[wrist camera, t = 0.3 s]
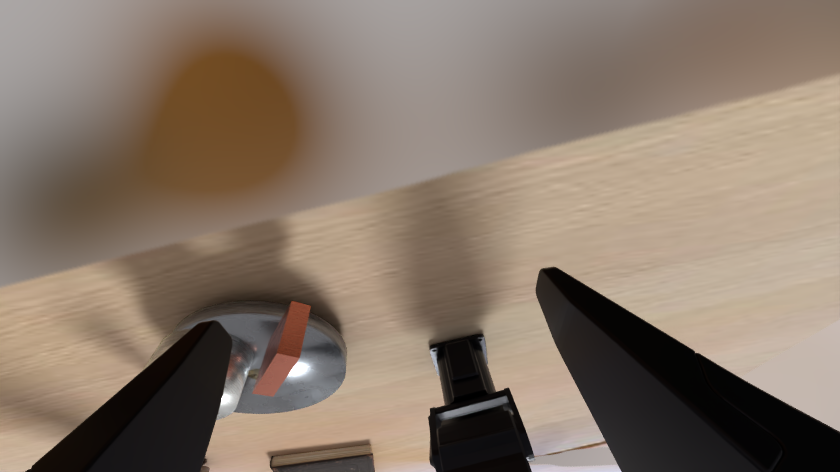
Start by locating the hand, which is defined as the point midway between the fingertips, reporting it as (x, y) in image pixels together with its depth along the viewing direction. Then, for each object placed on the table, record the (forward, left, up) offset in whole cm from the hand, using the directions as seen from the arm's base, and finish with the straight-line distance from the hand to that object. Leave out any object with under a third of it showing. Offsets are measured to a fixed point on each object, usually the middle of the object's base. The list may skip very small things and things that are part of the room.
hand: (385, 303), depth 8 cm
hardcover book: (-58, +26, -15) cm, 65 cm away
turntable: (-18, +17, -13) cm, 28 cm away
